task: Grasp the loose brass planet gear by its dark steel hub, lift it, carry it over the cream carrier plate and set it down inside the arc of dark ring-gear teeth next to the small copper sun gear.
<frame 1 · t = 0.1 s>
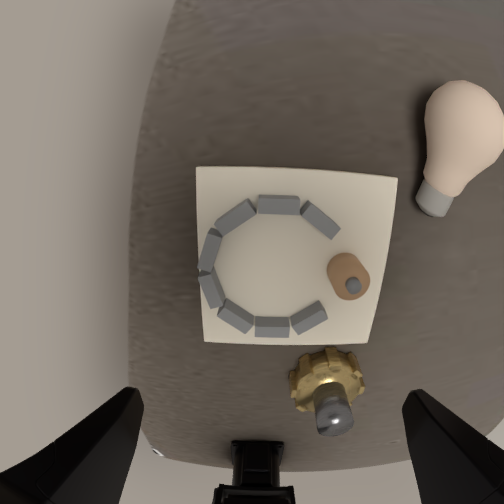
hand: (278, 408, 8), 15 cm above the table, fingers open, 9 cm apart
carrier: (294, 262, 22), on the table
planet gear: (324, 373, 26), on the table
light bulb: (435, 147, 19), on the table
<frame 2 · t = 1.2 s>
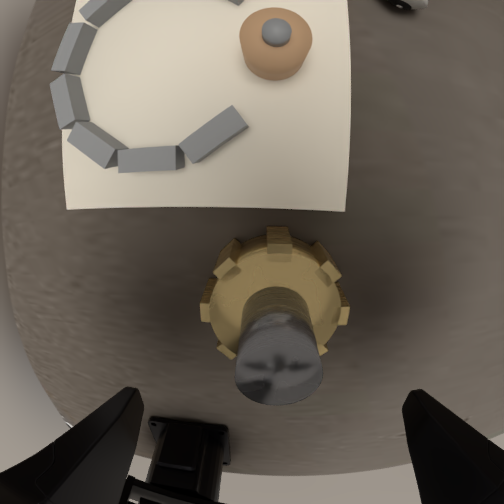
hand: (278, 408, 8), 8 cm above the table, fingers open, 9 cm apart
carrier: (195, 61, 12), on the table
planet gear: (273, 288, 16), on the table
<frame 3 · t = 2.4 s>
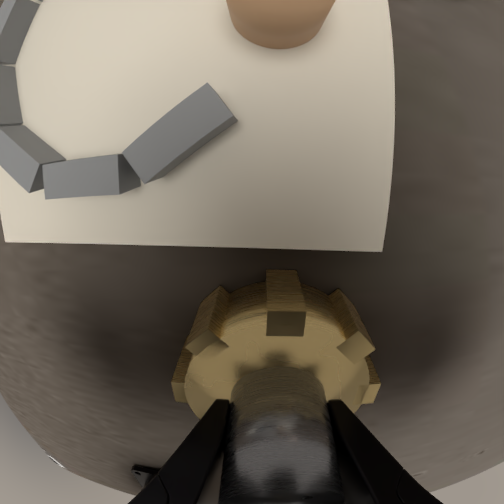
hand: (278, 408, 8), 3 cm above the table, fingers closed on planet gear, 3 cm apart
carrier: (162, 30, 7), on the table
planet gear: (275, 349, 11), on the table, touching gripper
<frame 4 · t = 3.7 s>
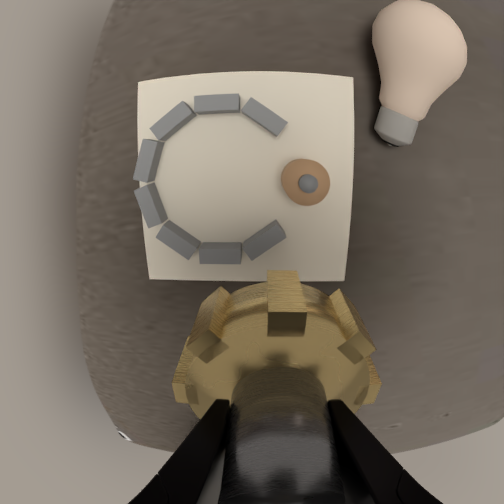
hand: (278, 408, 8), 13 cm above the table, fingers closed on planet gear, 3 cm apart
carrier: (244, 176, 19), on the table
planet gear: (276, 350, 11), point 10 cm above the table, touching gripper
light bulb: (393, 78, 17), on the table
when the fingers open (4 cm above the table, at t = 5.3 s): planet gear stays where it is, resting on carrier.
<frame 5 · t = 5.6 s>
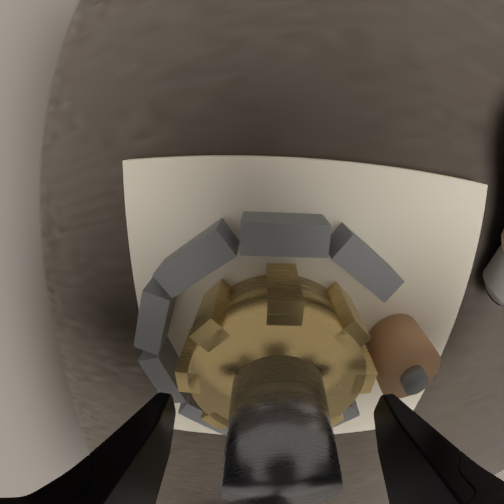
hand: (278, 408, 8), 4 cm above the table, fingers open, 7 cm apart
carrier: (308, 328, 12), on the table
planet gear: (275, 341, 11), point 1 cm above the table, touching carrier
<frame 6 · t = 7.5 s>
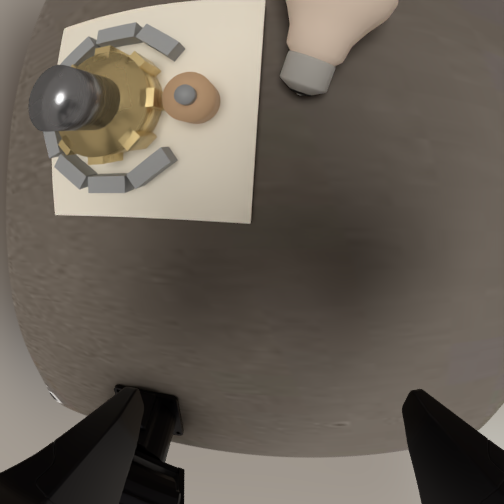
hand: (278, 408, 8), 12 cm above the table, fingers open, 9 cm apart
carrier: (145, 106, 16), on the table
planet gear: (117, 106, 15), point 1 cm above the table, touching carrier
light bulb: (319, 27, 14), on the table
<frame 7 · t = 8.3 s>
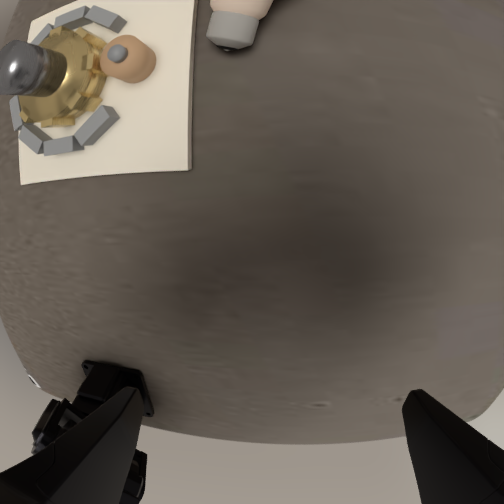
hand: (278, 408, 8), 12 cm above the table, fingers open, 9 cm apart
carrier: (96, 77, 15), on the table
planet gear: (71, 79, 14), point 1 cm above the table, touching carrier
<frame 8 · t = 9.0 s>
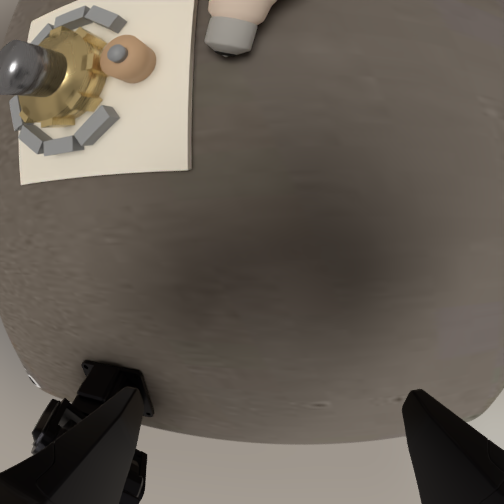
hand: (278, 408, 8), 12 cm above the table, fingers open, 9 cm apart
carrier: (96, 77, 15), on the table
planet gear: (71, 79, 14), point 1 cm above the table, touching carrier
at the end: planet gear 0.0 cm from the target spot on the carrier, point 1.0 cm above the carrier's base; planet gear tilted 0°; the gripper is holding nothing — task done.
